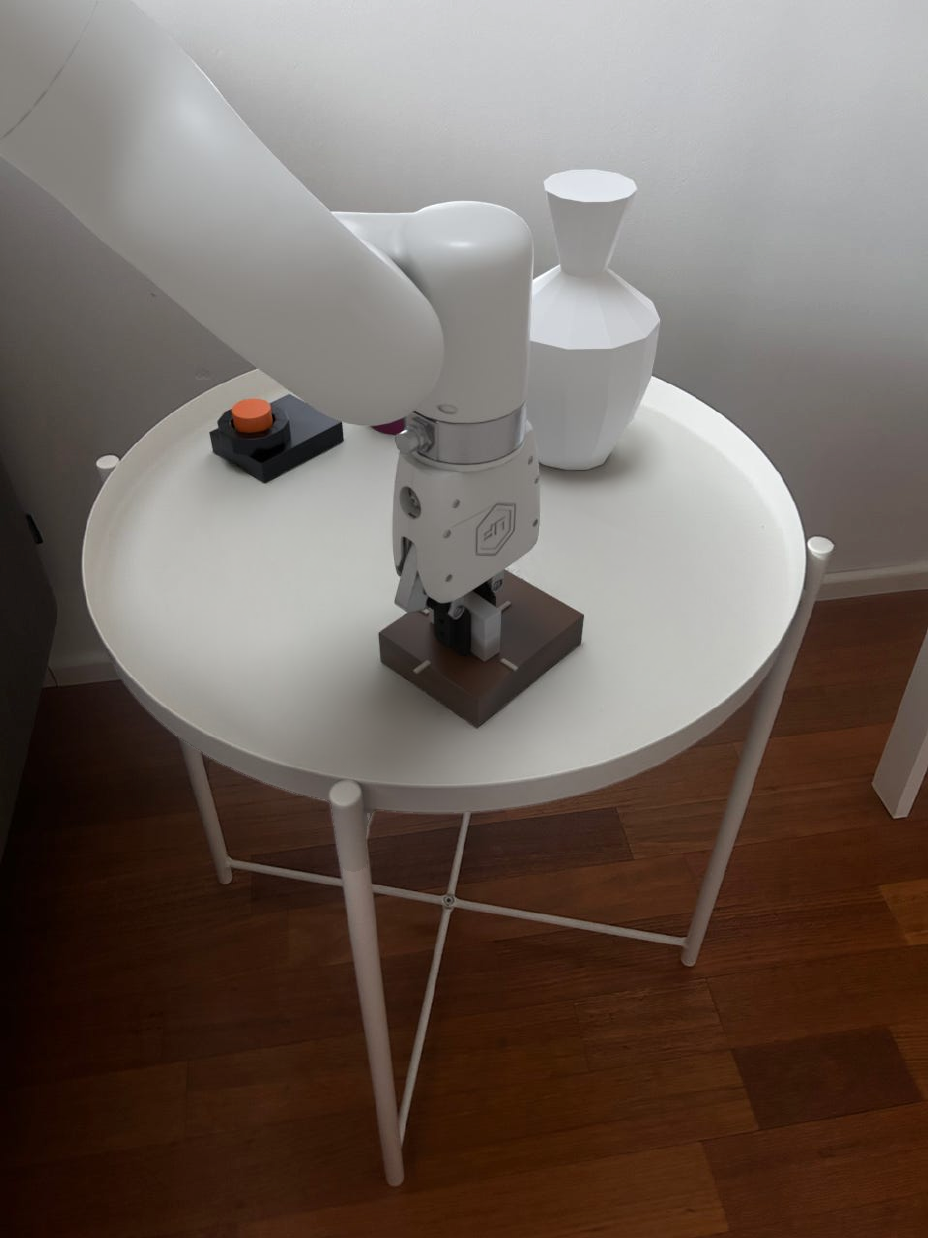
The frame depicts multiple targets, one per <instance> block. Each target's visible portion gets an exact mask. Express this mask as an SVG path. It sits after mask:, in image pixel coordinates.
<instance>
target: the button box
mask: <svg viewBox="0 0 928 1238" xmlns="http://www.w3.org/2000/svg"><path fill="white" fill-rule="evenodd" d="M268 403H269V404H270V406H271V413H272V420H273V424H272V426H271V427H270V428H268V429H266V430H264V431H259V432H253V433H246V432H239V431H237V430H236V429H235V427H234V422H233V416H232V408H231V409H230V408H229V409H228V410H226V411H224V412H223V413H222V414H221V416H220V417H219V418H218V420H216V421H217V422H216V424H217V428H215V429H213V430H211V431H209V432H208V434H209V439H210V444H211V450H212V452H213V453H215V454H216V455H218V456H219V457H221V458H223V459H225V460H226V461H228V462H230V463H231V464H233V465H234V466H236V467H237V468H239V469H241V470H242V471H244V472H245V473H247V474H250V475H251V476H252V477H254V478H255V479H257V480H259V481H260V482H262V483H263V484H266V483H267V482H269V481H272V480H273V479H276V478H277V477H279V476H281V475H283V474H284V473H287V472H288V471H290V470H293V469H294V468H295V467H298V466H299V465H302V464H303V463H305V462H307V461H309V460H311V459H313V458H314V457H317V456H318V455H320V454H322V453H324V452H326V451H328V450H329V449H331V448H334V447H336V446H337V445H339V444H341V443H344V442H345V436H344V427H343V426H344V425H343V422H342V421H339V420H336V419H333V418H331V417H329V416H327V415H325V414H323V413H321V412H320V411H318V410H316V409H315V408H313V407H312V406H311V405H309V404H308V403H306V402H305V401H303V400H302V399H300V398H299V397H297V396H296V395H294V394H291V393H288V394H286V395H283V396H281V397H280V398H278V399H276V400H273V401H271V402H268Z"/></svg>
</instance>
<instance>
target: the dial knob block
mask: <svg viewBox="0 0 928 1238" xmlns="http://www.w3.org/2000/svg"><path fill="white" fill-rule="evenodd" d="M495 596H496V608H498V609H499V610H500V611H501V633H500V652H499V653H497V654H496V655H494V656H493V657H491V658H490V659H488V660H487V661H485V662H484V661H482V660H481V659H480V658H478V657H477V656H476V655H474V654H473V653H472V652H470V653H468V654H467V655H465V656H464V657H463V656H461V655H460V654H458V653H457V652H455V651H454V650H452V649H451V648H449V647H446V646H444V645H443V644H441V643H440V642H439V641H438V640H437V638H436V637H435V635H434V624H433V623H432V622H430V620H429V608H426V609H425V610H423V611H419V612H414V613H407V612H406V613H405V614H403V615H402V616H400V617H399V618H397V619H396V620H394V621H393V622H391V623H390V624H388V625H387V626H386V627H384V628H382V629H381V630H380V631H379V632H378V633H377V635H378V647H379V659H380V662H381V663H383V664H384V665H385V666H387V667H388V668H389V669H391V670H393V671H394V672H395V673H397V674H398V675H400V676H401V677H403V678H404V679H406V680H407V681H408V682H410V683H412V684H413V685H414V686H416V687H418V688H419V689H420V690H422V691H423V692H424V693H426V694H427V695H429V696H430V697H432V698H433V699H435V701H437V702H439V703H440V704H442V705H443V706H445V707H446V708H448V709H449V710H450V711H452V712H453V713H455V714H456V715H458V716H459V717H461V718H462V719H463V720H465V721H467V722H468V723H469V724H470V725H472V726H474V727H475V728H479V727H480V726H482V725H483V724H484V723H486V722H487V721H488V720H489V719H491V718H492V717H493V716H494V715H495V714H496V713H497V712H500V710H502V708H504V707H505V706H507V705H508V704H509V703H510V702H511V701H513V700H514V699H515V698H516V697H518V695H520V694H521V693H522V692H524V691H525V690H526V689H527V688H528V687H529V686H531V685H532V684H533V683H535V682H536V681H537V680H538V679H539V678H540V677H542V676H543V675H544V674H546V672H548V671H549V670H550V669H552V668H553V667H554V666H555V665H556V664H557V663H559V662H560V661H561V660H562V659H564V658H565V656H566V657H567V655H569V654H570V653H571V652H572V651H573V650H575V649H576V648H577V647H578V646H580V644H582V637H583V630H584V629H583V628H584V620H585V614H584V613H582V612H580V611H578V610H577V609H575V608H573V607H572V606H570V605H568V604H566V603H564V602H563V601H561V600H559V599H558V598H556V597H555V596H553V595H551V594H549V593H547V592H545V591H544V590H542V589H540V588H539V587H537V586H535V585H533V584H532V583H530V582H528V581H526V580H525V579H523V578H521V577H519V576H518V575H516V574H514V573H512V572H511V571H509V570H507V569H506V568H505V569H504V581H503V586H502V588H501V589H500V590H499V591H498V592H497V593H495Z"/></svg>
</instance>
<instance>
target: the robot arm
mask: <svg viewBox="0 0 928 1238" xmlns="http://www.w3.org/2000/svg"><path fill="white" fill-rule="evenodd" d="M0 157H1V158H2V159H3V160H4V161H6V162H7V163H8V164H10V165H11V166H13V167H14V168H15V169H16V170H18V171H19V172H21V173H23V174H24V175H25V176H26V177H27V178H28V179H30V180H31V181H33V182H34V183H36V184H37V185H38V186H40V188H42V189H43V190H44V191H46V192H47V193H48V194H49V195H51V196H52V197H54V198H55V199H56V200H57V201H58V202H59V203H60V204H61V205H62V206H64V207H65V208H66V209H67V210H68V212H70V213H71V214H72V215H73V216H74V217H75V218H76V219H77V220H78V221H80V222H81V224H83V225H84V226H85V227H86V229H87V230H89V231H90V232H91V233H92V234H93V235H94V236H96V237H97V238H98V240H100V241H101V242H103V244H105V245H106V246H107V247H109V248H110V249H112V250H113V251H114V252H115V253H116V254H117V255H119V256H120V257H122V258H123V259H124V260H125V261H127V263H129V264H130V265H131V266H132V267H134V269H136V270H137V271H139V272H140V273H141V274H142V275H143V276H145V277H146V278H147V279H148V280H149V281H150V282H152V283H153V284H154V285H155V286H156V287H157V288H159V289H160V290H161V291H162V292H163V293H165V294H166V295H167V296H168V297H169V298H170V299H171V300H172V301H174V302H175V303H176V304H177V305H178V306H180V308H182V309H183V310H184V311H185V312H186V313H187V314H188V315H190V316H191V317H192V318H194V320H196V321H197V322H198V323H199V324H200V325H202V327H204V328H205V329H206V330H208V331H209V332H210V333H211V334H213V335H214V336H215V337H216V338H217V339H218V340H220V341H221V342H222V343H223V344H225V345H226V346H227V347H229V348H230V349H231V350H232V351H233V352H235V353H236V354H237V355H239V356H240V357H242V359H244V360H246V361H247V362H248V363H249V364H251V365H252V366H254V367H255V368H256V369H258V370H259V371H260V372H262V373H263V374H265V375H266V376H268V377H269V378H270V379H272V380H273V381H275V382H276V383H277V384H279V385H281V387H283V388H285V389H286V390H287V391H288V392H290V393H292V395H294V396H295V397H296V398H298V399H300V400H302V401H304V402H306V403H308V404H309V405H311V406H312V407H313V408H315V409H316V410H318V411H320V412H321V413H323V414H325V415H327V416H329V417H331V418H333V419H336V420H339V421H341V422H342V423H345V424H349V425H355V426H361V427H369V426H371V427H372V426H376V425H382V424H387V423H391V422H394V421H396V420H399V419H401V418H404V430H403V432H401V433H399V434H395V437H394V442H395V445H396V447H397V449H398V450H399V452H398V459H397V462H396V463H397V464H396V470H395V478H394V488H393V499H392V500H393V501H392V522H391V525H392V529H391V531H392V532H391V533H392V534H391V537H392V553H393V555H392V556H393V563H394V568H395V571H396V574H397V576H398V577H400V578H399V581H398V585H397V589H396V593H395V595H394V596H395V597H394V601H393V602H394V605H395V606H397V607H398V608H400V609H401V610H402V611H404V612H406V613H414V612H419V611H423V610H425V609H426V608H431V609H432V610H434V635H435V637H436V638H437V640H438V641H439V642H440V643H441V644H443V645H444V646H446V647H449V648H451V649H452V650H454V651H455V652H457V653H458V654H460V655H461V656H463V657H464V656H465V655H467V654H468V653H470V649H471V614H470V612H469V611H467V610H466V609H465V594H467V593H468V592H470V591H473V592H475V593H476V594H478V595H479V596H480V597H482V598H483V599H485V600H486V601H488V602H489V603H490V604H492V605H493V606H495V607H496V596H495V593H497V592H498V591H499V590H500V589H501V588H502V586H503V581H504V569H505V570H506V569H507V568H508V567H510V566H511V565H512V564H514V563H516V562H517V561H518V560H520V559H521V558H523V557H524V556H525V555H526V554H528V553H529V552H530V551H532V549H533V548H534V547H535V545H536V544H537V542H538V539H539V534H540V526H541V525H540V524H541V478H540V462H538V453H537V447H536V442H535V437H534V433H533V429H532V426H531V424H530V422H529V421H528V420H527V419H526V407H527V388H528V367H529V346H530V325H531V304H532V284H533V280H534V261H535V260H534V259H535V257H534V255H535V253H534V252H535V251H534V249H535V247H534V239H533V235H532V232H531V229H530V227H529V225H528V224H527V223H526V221H525V220H524V219H523V218H522V217H521V215H520V216H519V215H518V214H517V213H516V212H514V211H513V210H511V209H510V208H507V207H505V206H502V205H499V204H495V203H490V202H484V201H477V200H475V201H474V200H453V201H446V202H441V203H435V204H431V205H428V206H425V207H423V208H421V209H419V210H417V211H414V212H357V211H355V212H354V211H331V210H330V209H328V207H326V206H325V205H324V204H323V203H322V202H321V201H320V200H319V199H318V198H317V197H316V196H315V195H314V194H313V192H311V191H310V190H309V189H308V188H307V187H306V186H305V185H304V184H303V183H302V182H301V181H300V180H299V179H298V178H297V177H296V176H295V175H294V174H293V173H292V172H291V171H290V170H289V169H288V168H287V167H286V166H285V165H284V164H283V163H282V162H281V161H280V160H279V158H278V157H276V155H274V154H273V153H272V151H271V150H270V149H269V148H268V147H267V146H266V145H265V144H264V143H263V141H262V140H260V138H259V137H258V136H257V135H256V134H255V133H254V132H253V131H252V130H251V128H250V127H249V126H248V125H247V124H246V123H245V121H244V120H243V119H242V118H241V117H240V116H239V114H238V113H237V112H236V111H235V110H234V108H233V107H232V106H231V105H230V103H229V102H228V101H227V99H226V98H225V97H224V95H222V93H221V92H220V91H219V90H218V87H216V86H215V84H214V83H213V82H212V80H211V79H210V78H209V77H208V76H207V75H206V74H205V72H204V71H203V70H202V69H201V68H200V67H199V66H198V64H197V63H196V62H195V61H194V60H193V59H192V58H191V57H190V55H188V54H187V53H186V52H185V50H183V48H181V46H180V45H179V44H178V43H177V42H176V41H175V40H174V39H173V38H172V37H171V36H170V35H169V33H168V32H167V31H165V30H164V29H163V28H162V27H161V26H160V25H159V24H158V23H157V22H156V21H155V20H154V19H153V18H152V17H151V16H150V15H149V14H148V13H146V12H145V11H144V10H143V9H142V8H141V7H139V5H138V4H137V3H135V2H134V1H133V0H0Z"/></svg>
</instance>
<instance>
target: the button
mask: <svg viewBox="0 0 928 1238" xmlns="http://www.w3.org/2000/svg"><path fill="white" fill-rule="evenodd" d="M269 403H270V402H268V401H266V400H265V399H262V398H246V399H242V400H240V401H238V402H236V403H234V404H233V406H232V407H231V409H232V416H233V422H234V427H235V429H236V430H237V431H239V432H246V433H253V432H259V431H264V430H266V429H268V428H270V427H271V426H272V424H273V420H272V413H271V406H270V404H269Z"/></svg>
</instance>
